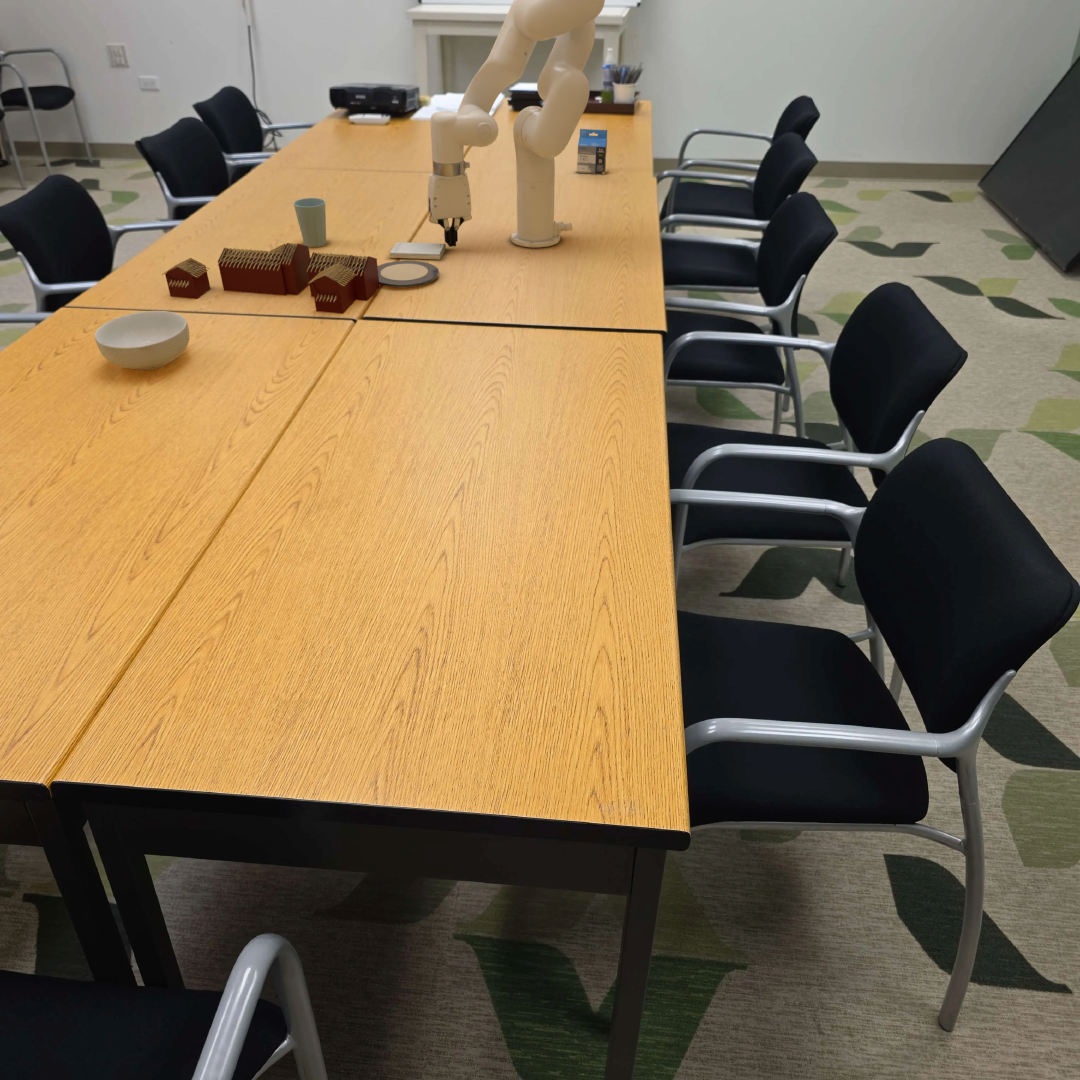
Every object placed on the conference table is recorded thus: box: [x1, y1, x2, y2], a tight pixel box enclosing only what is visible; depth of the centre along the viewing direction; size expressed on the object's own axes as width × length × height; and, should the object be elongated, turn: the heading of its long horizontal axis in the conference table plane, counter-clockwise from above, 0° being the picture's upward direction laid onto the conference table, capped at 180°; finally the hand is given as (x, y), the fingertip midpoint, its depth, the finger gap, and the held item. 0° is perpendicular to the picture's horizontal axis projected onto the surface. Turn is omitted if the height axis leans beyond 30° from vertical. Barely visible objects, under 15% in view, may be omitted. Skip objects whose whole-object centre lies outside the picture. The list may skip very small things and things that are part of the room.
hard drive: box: [389, 241, 447, 260], centre depth 227 cm, size 2×8×12 cm
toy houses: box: [161, 242, 381, 315], centre depth 204 cm, size 45×20×10 cm, turn 79°
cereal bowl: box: [94, 310, 190, 371], centre depth 175 cm, size 17×17×7 cm
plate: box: [377, 260, 440, 288], centre depth 214 cm, size 16×16×1 cm
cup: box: [293, 197, 327, 248], centre depth 230 cm, size 8×8×10 cm
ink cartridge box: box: [576, 128, 608, 175], centre depth 286 cm, size 9×4×12 cm, turn 81°
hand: (451, 244), depth 229 cm, fingers closed
